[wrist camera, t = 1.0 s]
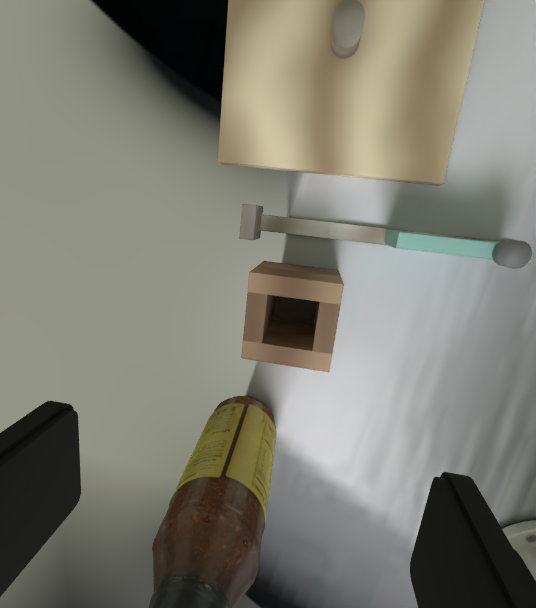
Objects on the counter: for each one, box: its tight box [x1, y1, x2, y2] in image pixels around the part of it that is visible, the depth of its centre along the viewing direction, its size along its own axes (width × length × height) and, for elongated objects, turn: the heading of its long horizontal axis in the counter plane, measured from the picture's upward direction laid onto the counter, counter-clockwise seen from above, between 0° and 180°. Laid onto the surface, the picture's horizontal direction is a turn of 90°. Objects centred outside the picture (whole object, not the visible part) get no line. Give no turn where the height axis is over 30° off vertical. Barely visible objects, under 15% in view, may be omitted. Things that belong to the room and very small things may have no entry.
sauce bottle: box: [149, 396, 276, 608], centre depth 22 cm, size 7×6×20 cm
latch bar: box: [385, 230, 535, 269], centre depth 23 cm, size 8×2×5 cm, turn 84°
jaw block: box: [242, 261, 344, 372], centre depth 26 cm, size 6×6×6 cm
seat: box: [218, 0, 501, 245], centre depth 22 cm, size 22×21×4 cm
